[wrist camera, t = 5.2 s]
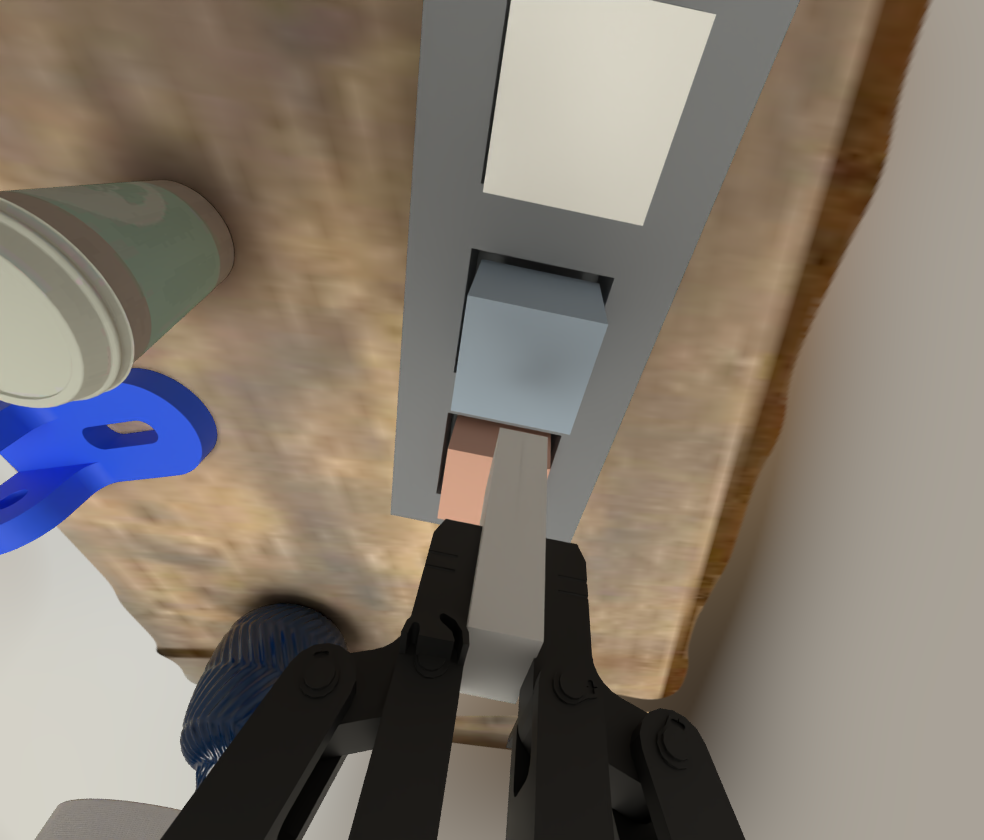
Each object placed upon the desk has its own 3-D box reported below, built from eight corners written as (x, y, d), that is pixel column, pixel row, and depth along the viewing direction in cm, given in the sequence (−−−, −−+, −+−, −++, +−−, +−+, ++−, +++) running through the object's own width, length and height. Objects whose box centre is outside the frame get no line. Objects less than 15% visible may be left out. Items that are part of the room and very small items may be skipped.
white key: (524, -6, 16) (515, -30, 12) (680, 28, 16) (716, 14, 12) (495, 170, 19) (482, 192, 16) (626, 198, 19) (642, 225, 16)
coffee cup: (250, 171, 24) (52, 233, 15) (264, 321, 30) (124, 439, 20) (84, 131, 24) (-227, 168, 15) (128, 289, 29) (-82, 393, 20)
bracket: (59, 473, 41) (-49, 559, 33) (-20, 392, 36) (-165, 472, 29) (238, 452, 37) (161, 543, 30) (176, 359, 32) (66, 440, 25)
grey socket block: (462, -125, 18) (435, -184, 14) (774, -55, 18) (839, -94, 14) (409, 464, 35) (390, 514, 31) (565, 496, 36) (567, 549, 32)
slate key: (481, 258, 21) (467, 295, 18) (599, 283, 21) (608, 324, 18) (465, 362, 24) (450, 410, 21) (567, 383, 25) (569, 434, 21)
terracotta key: (461, 401, 28) (447, 448, 24) (550, 419, 28) (550, 469, 24) (450, 468, 31) (437, 518, 28) (530, 484, 31) (527, 536, 28)
